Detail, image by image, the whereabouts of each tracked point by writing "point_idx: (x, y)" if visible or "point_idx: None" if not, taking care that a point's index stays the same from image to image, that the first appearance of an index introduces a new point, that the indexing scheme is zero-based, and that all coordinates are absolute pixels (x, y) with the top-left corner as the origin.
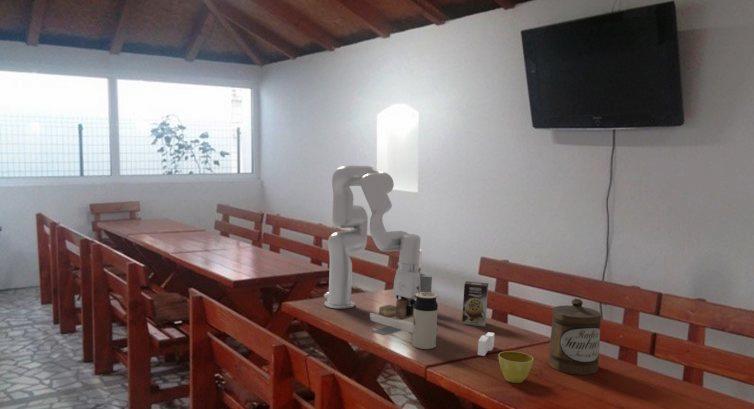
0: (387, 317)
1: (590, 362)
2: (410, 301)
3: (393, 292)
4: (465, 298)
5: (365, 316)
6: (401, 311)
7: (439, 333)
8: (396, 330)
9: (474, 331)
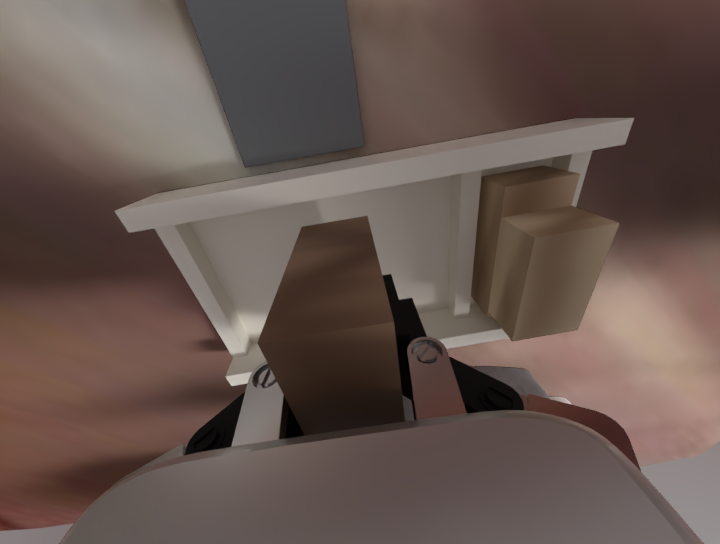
0: (432, 175)
1: None
2: (239, 421)
3: (623, 438)
4: None
5: (656, 167)
6: (295, 258)
7: (141, 328)
8: (240, 116)
9: (150, 437)
